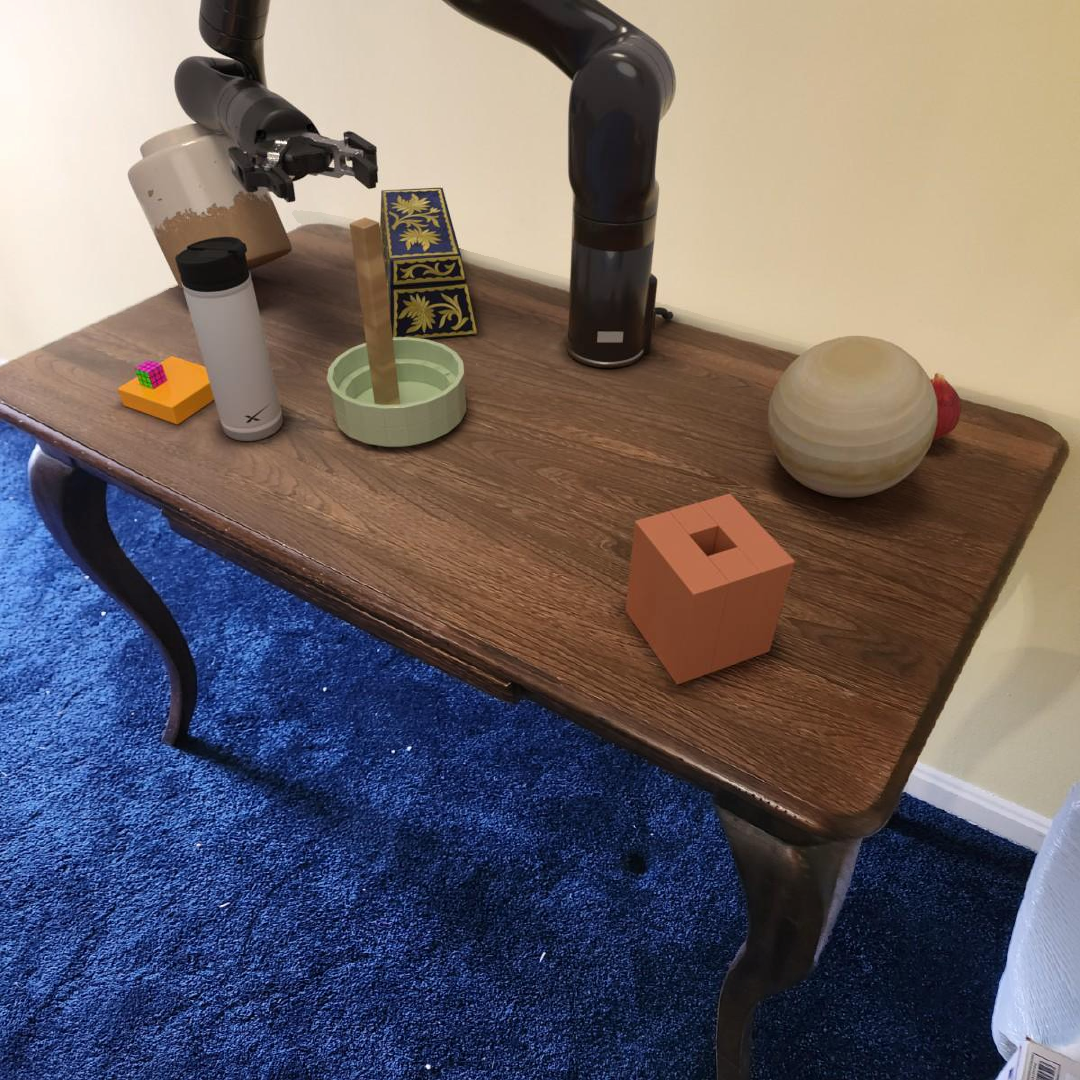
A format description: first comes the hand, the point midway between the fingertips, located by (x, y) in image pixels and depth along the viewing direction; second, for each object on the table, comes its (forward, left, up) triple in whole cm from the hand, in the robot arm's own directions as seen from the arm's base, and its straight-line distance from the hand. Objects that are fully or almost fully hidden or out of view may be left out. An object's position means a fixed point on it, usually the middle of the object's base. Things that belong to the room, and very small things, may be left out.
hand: (332, 185), depth 85 cm
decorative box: (-14, -20, -22) cm, 33 cm away
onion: (-51, +35, -22) cm, 66 cm away
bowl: (-2, +9, -22) cm, 24 cm away
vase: (+9, -26, -18) cm, 33 cm away
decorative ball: (-38, +37, -22) cm, 57 cm away
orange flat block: (+20, -4, -22) cm, 30 cm away
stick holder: (-15, +49, -22) cm, 56 cm away
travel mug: (+13, +5, -22) cm, 26 cm away
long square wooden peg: (-1, +8, -21) cm, 22 cm away
